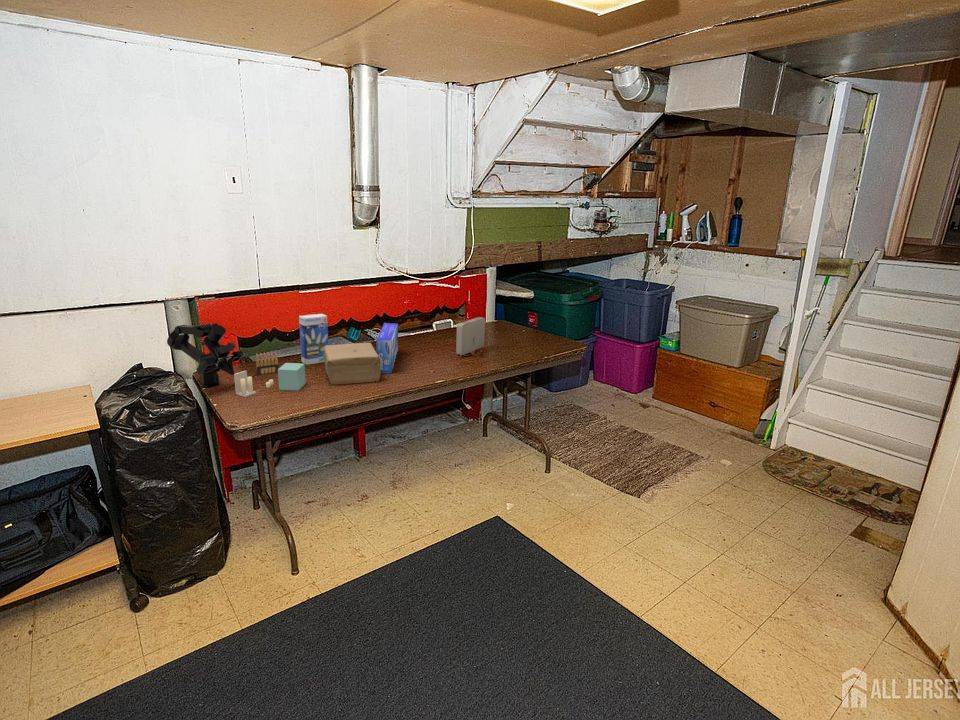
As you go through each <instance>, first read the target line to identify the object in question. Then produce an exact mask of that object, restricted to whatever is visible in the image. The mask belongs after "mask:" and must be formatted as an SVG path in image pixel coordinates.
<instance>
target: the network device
mask: <svg viewBox="0 0 960 720" xmlns="http://www.w3.org/2000/svg"><path fill="white" fill-rule="evenodd" d="M485 335H486V318H485V317H480V316H479V317H474V318H472V319H469V320H465V321H462V322H459V323H457V325H456V339H455V340H456V341H455V343H456V347H455V349H456V350H455V352H456V353H455V354H456V355H457V354H460V355H464V356H465V355H467V354H468V353H469V352H472V351H474V352H475V351H477V350H476V349H481V348H483V347H484V346H485V339H486V337H485Z"/></svg>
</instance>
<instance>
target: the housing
mask: <svg viewBox="0 0 960 720" xmlns="http://www.w3.org/2000/svg"><path fill="white" fill-rule="evenodd" d="M305 366H306V364H305V363H295V362H294V363H293V362H285V363H284V364H282V365H281V366H280V367H279V369H278V372H277V379H278V390H279V391H300V390H301V389H302V388H303V387H304V386H305V385H306V383H307V382H306V368H305Z"/></svg>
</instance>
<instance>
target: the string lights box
mask: <svg viewBox="0 0 960 720" xmlns="http://www.w3.org/2000/svg"><path fill="white" fill-rule="evenodd" d="M298 325H299V341H300V357H301V358H300V361H301V362H302V364H305V366H307V365H313V364H314V365H315V364H321V363H325V362H324V347H325V346H327V345H329V329H328V328H329V327H328V315H326V314H324V313H317V314H316V313H314V314H305V315H298Z"/></svg>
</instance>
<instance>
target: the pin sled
mask: <svg viewBox="0 0 960 720" xmlns="http://www.w3.org/2000/svg"><path fill="white" fill-rule="evenodd" d="M233 379H234V388H235V389H234V390H235V395H237V396H240V397H243V398H246V397H249V396H252V395H256V394H257V391H255V390H254V387H253V377H252V376H248V371H247V370H243V371H239V372H236V373H234V375H233Z"/></svg>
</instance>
